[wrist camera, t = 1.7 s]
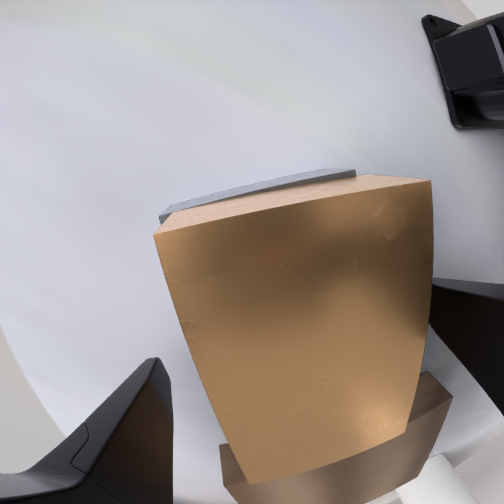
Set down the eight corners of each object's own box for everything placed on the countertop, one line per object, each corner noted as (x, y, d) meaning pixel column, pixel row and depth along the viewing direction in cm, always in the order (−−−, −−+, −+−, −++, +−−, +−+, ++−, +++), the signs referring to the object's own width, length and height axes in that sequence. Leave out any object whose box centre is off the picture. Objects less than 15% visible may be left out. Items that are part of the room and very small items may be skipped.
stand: (427, 370, 15) (453, 396, 12) (404, 455, 19) (418, 476, 16) (219, 445, 14) (223, 485, 11) (259, 507, 18) (265, 533, 15)
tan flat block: (367, 174, 8) (430, 180, 6) (372, 387, 11) (404, 432, 8) (172, 212, 8) (153, 234, 5) (239, 427, 10) (249, 484, 8)
